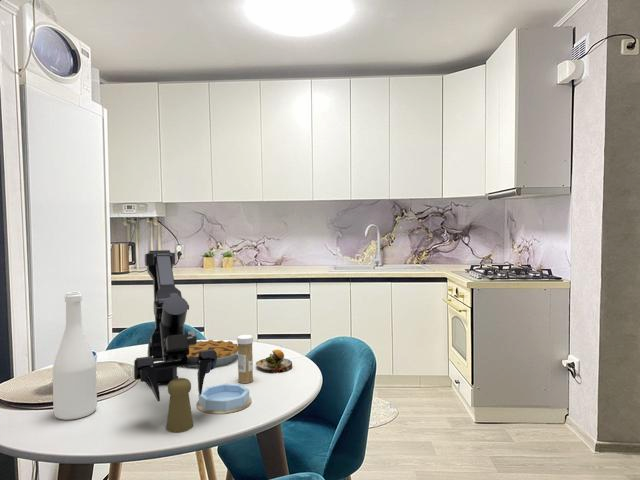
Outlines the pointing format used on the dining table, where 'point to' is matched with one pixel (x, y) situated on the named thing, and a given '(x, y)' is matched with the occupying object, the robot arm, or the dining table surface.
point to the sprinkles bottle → (245, 358)
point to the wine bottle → (74, 367)
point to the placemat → (223, 411)
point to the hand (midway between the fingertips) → (180, 397)
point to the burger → (275, 362)
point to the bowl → (224, 397)
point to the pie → (223, 350)
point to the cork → (179, 406)
